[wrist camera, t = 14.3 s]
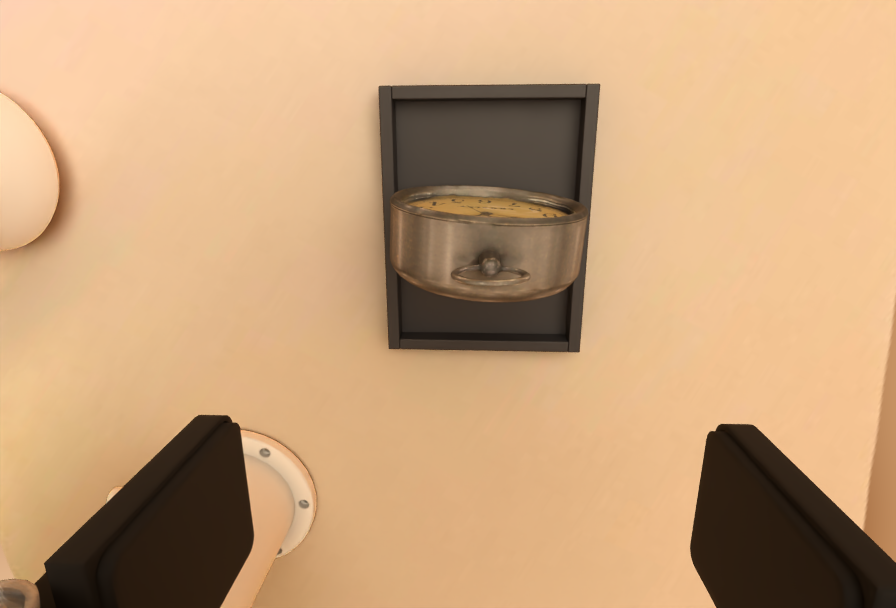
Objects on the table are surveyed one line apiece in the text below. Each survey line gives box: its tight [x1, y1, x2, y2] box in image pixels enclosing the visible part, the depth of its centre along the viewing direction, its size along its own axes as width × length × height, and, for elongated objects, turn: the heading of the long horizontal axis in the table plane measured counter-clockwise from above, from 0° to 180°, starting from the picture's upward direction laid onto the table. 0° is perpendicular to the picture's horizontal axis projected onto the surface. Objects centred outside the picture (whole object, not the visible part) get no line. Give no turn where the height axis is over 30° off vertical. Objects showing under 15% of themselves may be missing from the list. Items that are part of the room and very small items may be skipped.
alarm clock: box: [390, 185, 588, 302], centre depth 28 cm, size 11×5×16 cm, turn 87°
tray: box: [379, 84, 600, 352], centre depth 35 cm, size 14×18×2 cm
